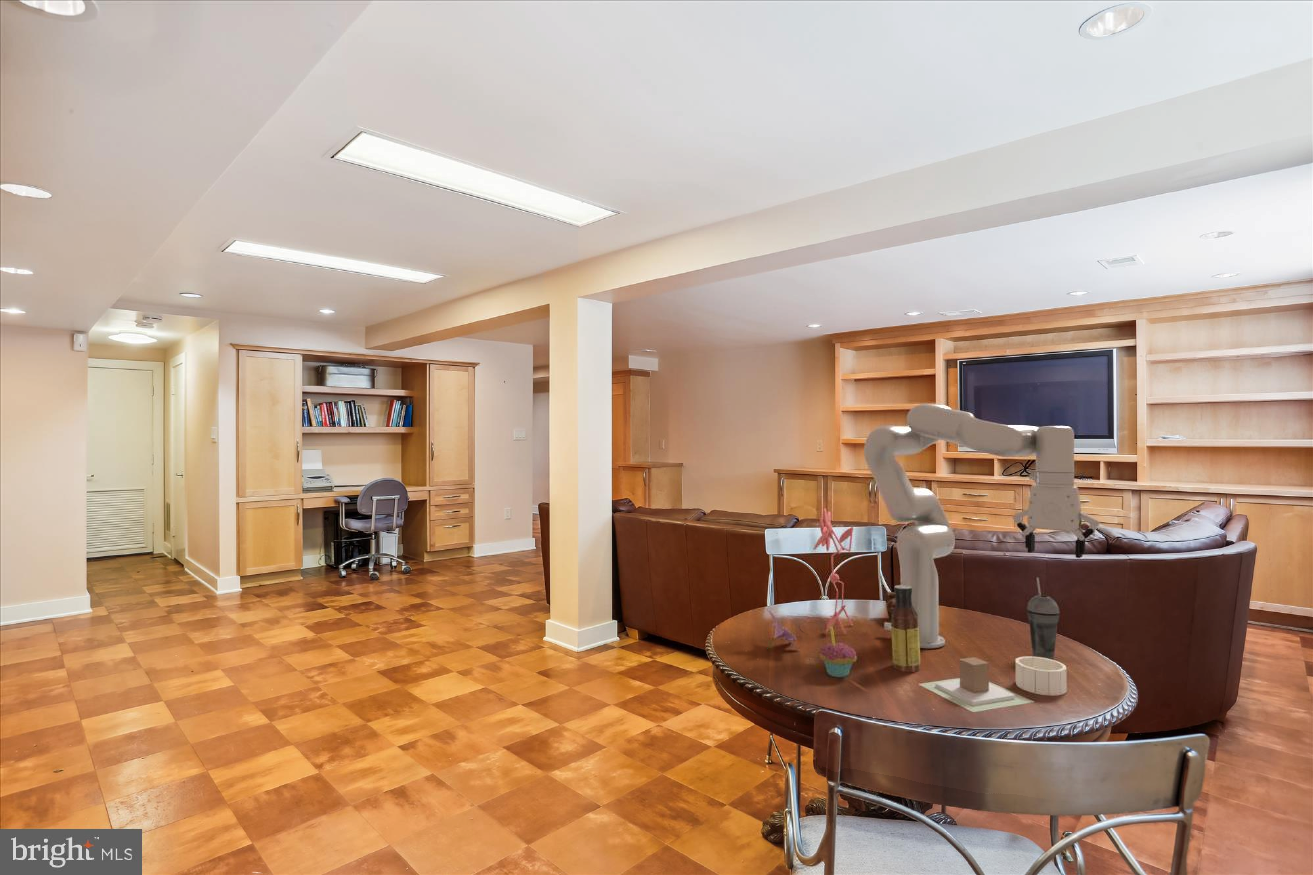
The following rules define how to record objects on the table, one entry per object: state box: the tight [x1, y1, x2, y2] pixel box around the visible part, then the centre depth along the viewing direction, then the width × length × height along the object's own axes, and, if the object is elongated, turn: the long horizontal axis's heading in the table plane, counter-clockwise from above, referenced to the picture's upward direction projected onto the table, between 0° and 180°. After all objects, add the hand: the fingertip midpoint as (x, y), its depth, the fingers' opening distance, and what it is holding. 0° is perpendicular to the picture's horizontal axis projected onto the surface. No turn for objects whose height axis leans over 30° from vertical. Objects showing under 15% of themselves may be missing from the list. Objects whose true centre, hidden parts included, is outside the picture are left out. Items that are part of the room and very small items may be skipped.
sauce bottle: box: [890, 584, 921, 673], centre depth 158 cm, size 6×6×20 cm
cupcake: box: [819, 624, 858, 678], centre depth 155 cm, size 9×8×12 cm
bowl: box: [1015, 655, 1068, 697], centre depth 145 cm, size 10×10×6 cm
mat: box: [918, 677, 1035, 713], centre depth 142 cm, size 16×16×1 cm
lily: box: [766, 608, 798, 650], centre depth 174 cm, size 12×12×10 cm
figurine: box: [807, 507, 858, 635], centre depth 194 cm, size 15×26×35 cm, turn 152°
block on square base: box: [935, 656, 1015, 706], centre depth 142 cm, size 11×11×7 cm
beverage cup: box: [1026, 577, 1061, 660], centre depth 166 cm, size 7×7×20 cm
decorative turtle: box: [884, 591, 895, 621], centre depth 199 cm, size 10×15×8 cm, turn 27°
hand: (1054, 554), depth 151 cm, fingers open, 9 cm apart
